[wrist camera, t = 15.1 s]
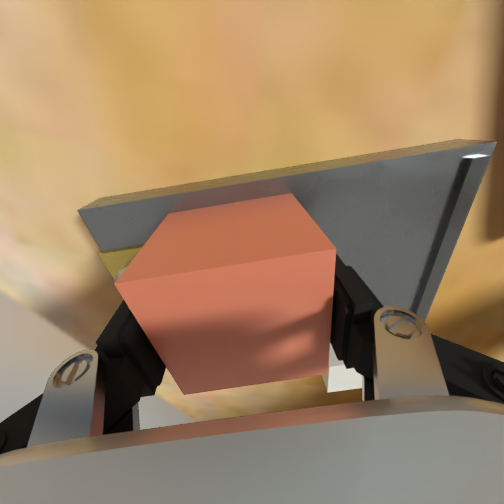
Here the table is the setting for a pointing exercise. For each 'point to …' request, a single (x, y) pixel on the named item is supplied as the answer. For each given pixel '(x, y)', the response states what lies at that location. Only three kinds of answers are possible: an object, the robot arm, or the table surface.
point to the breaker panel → (335, 212)
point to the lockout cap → (235, 294)
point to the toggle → (340, 375)
